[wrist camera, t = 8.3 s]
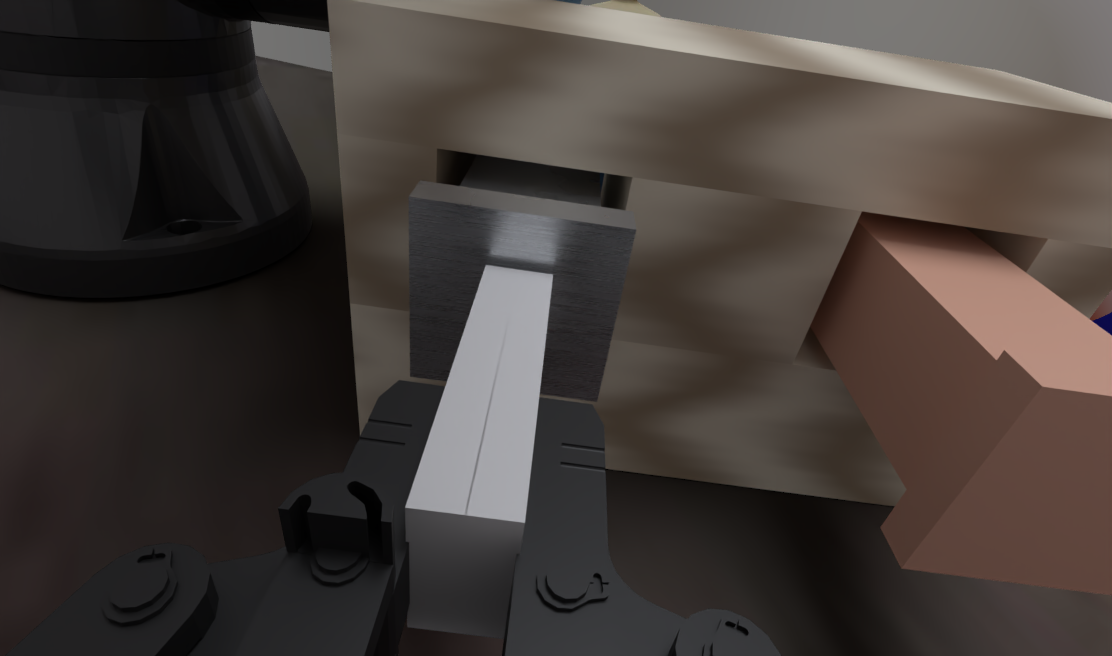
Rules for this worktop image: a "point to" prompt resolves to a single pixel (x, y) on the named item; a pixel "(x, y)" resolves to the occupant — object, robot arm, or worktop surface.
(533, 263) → the grey plug
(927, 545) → the terracotta plug
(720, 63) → the housing
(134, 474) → the worktop surface
